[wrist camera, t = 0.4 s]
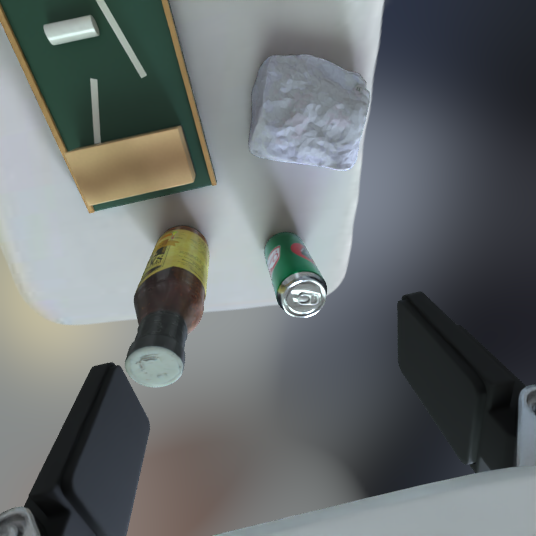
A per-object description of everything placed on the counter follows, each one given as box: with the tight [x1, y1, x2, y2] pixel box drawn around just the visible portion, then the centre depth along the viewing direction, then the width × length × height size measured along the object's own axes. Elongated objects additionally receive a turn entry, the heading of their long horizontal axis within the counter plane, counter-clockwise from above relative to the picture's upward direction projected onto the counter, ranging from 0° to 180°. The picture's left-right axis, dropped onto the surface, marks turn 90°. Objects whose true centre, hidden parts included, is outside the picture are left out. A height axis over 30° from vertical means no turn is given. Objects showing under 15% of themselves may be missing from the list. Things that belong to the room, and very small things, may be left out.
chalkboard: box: [0, 0, 217, 213], centre depth 31 cm, size 26×14×2 cm, turn 11°
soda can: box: [264, 232, 327, 318], centre depth 37 cm, size 5×5×12 cm
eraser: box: [64, 125, 196, 206], centre depth 33 cm, size 5×10×4 cm, turn 101°
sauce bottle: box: [125, 226, 209, 387], centre depth 32 cm, size 6×6×20 cm
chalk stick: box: [43, 15, 100, 45], centre depth 29 cm, size 2×4×2 cm
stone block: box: [249, 54, 370, 171], centre depth 34 cm, size 12×5×10 cm
